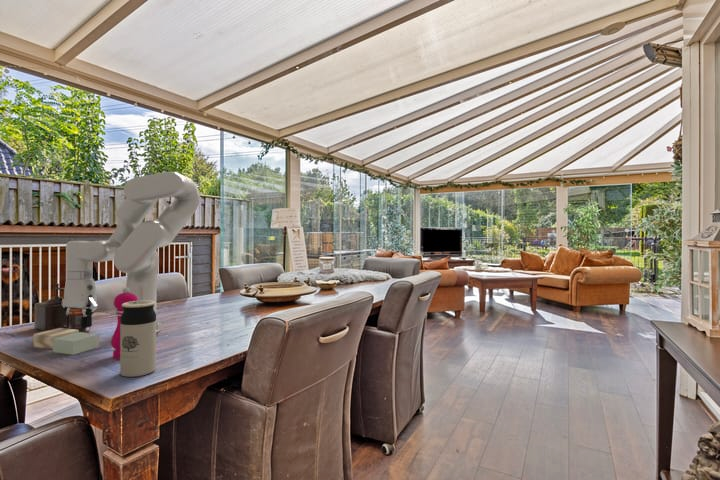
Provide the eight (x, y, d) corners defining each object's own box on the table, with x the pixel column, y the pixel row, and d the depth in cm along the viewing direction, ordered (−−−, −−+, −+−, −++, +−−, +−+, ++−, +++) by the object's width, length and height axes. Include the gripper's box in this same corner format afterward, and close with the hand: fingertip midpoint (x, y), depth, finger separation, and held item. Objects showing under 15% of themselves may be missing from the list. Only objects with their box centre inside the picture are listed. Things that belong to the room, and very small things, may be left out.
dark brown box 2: (46, 332, 133) (46, 282, 133) (33, 328, 139) (33, 279, 139) (95, 323, 147) (95, 278, 146) (81, 320, 152) (81, 276, 152)
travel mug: (139, 365, 102) (139, 299, 102) (162, 368, 100) (163, 301, 100) (112, 375, 95) (112, 304, 94) (137, 379, 92) (137, 306, 92)
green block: (98, 346, 118) (98, 334, 118) (73, 354, 110) (73, 341, 110) (79, 344, 120) (79, 332, 120) (53, 352, 112) (53, 338, 112)
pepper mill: (118, 361, 105) (119, 290, 104) (106, 356, 109) (106, 287, 108) (145, 354, 111) (145, 287, 111) (132, 350, 115) (132, 285, 114)
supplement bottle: (93, 332, 134) (93, 300, 134) (75, 336, 129) (75, 303, 129) (83, 330, 137) (83, 299, 137) (65, 334, 132) (65, 302, 131)
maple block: (78, 342, 123) (78, 329, 123) (52, 349, 115) (52, 336, 115) (60, 339, 125) (60, 327, 125) (33, 346, 117) (33, 333, 117)
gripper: (108, 275, 134) (108, 325, 134) (71, 273, 139) (71, 322, 139) (88, 277, 127) (87, 331, 127) (50, 275, 131) (50, 327, 132)
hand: (79, 325), depth 133 cm, fingers closed on supplement bottle, 6 cm apart
